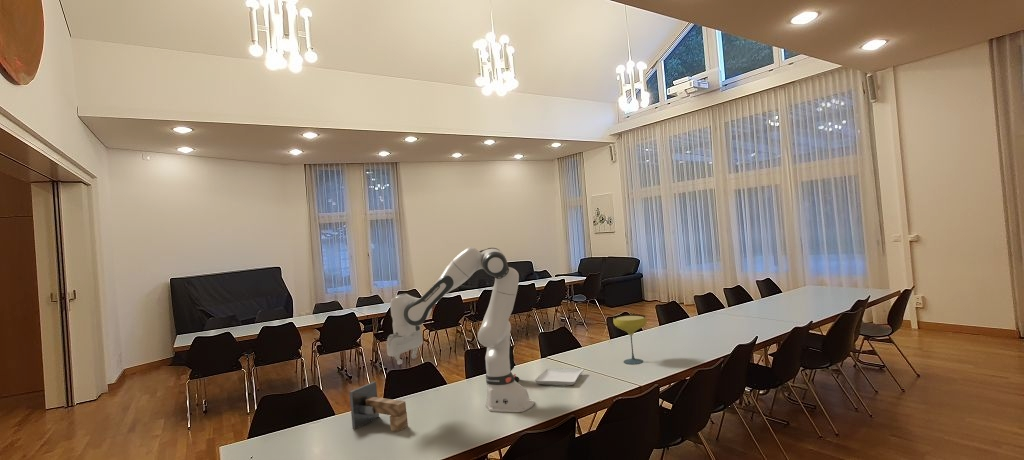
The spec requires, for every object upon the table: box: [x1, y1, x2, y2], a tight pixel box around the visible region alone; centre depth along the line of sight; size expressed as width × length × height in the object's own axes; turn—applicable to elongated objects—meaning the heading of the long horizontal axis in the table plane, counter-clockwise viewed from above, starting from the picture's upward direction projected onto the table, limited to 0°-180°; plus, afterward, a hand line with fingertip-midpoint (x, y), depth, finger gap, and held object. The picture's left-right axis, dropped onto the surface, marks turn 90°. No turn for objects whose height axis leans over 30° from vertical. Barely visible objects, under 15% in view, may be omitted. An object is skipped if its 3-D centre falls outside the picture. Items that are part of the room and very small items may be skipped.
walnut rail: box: [366, 396, 407, 417], centre depth 206 cm, size 20×4×5 cm, turn 58°
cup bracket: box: [349, 381, 380, 430], centre depth 210 cm, size 10×14×16 cm
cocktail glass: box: [612, 313, 647, 365], centre depth 269 cm, size 18×18×25 cm
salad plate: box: [534, 368, 585, 386], centre depth 248 cm, size 21×21×3 cm
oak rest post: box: [389, 411, 409, 433], centre depth 202 cm, size 4×6×6 cm, turn 150°
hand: (407, 361), depth 215 cm, fingers open, 8 cm apart
